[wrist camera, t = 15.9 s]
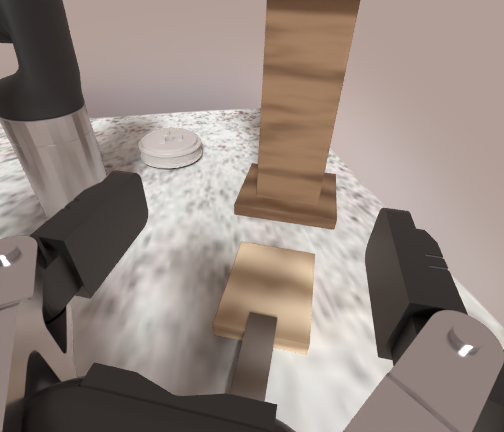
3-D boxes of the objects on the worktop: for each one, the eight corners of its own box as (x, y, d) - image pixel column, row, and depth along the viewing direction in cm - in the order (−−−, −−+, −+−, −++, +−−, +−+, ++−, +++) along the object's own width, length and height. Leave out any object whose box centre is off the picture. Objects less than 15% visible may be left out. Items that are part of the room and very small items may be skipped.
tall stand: (334, 229, 47) (405, -38, 28) (234, 214, 49) (234, -44, 30) (333, 183, 58) (384, -33, 38) (251, 172, 60) (259, -38, 41)
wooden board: (294, 531, 21) (299, 525, 20) (160, 491, 23) (155, 483, 21) (312, 264, 41) (315, 251, 40) (241, 252, 43) (241, 238, 41)
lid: (211, 164, 63) (210, 141, 60) (149, 178, 58) (145, 154, 55) (190, 140, 71) (188, 119, 68) (135, 151, 66) (130, 129, 63)
